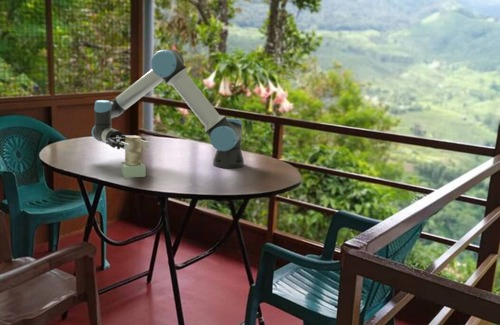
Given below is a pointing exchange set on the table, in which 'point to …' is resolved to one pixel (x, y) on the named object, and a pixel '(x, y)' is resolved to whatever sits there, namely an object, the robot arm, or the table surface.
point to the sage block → (133, 170)
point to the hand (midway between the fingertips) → (138, 146)
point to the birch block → (133, 150)
